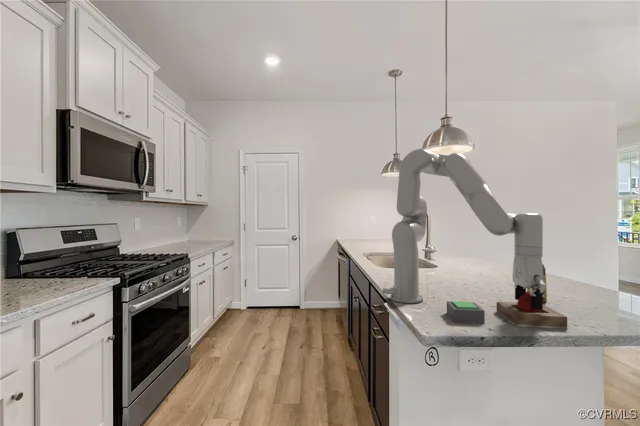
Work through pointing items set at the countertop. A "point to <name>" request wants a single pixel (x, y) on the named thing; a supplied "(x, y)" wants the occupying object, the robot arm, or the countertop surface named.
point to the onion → (525, 303)
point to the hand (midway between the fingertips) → (528, 304)
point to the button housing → (466, 314)
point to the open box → (532, 316)
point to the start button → (464, 305)
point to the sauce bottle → (545, 287)
